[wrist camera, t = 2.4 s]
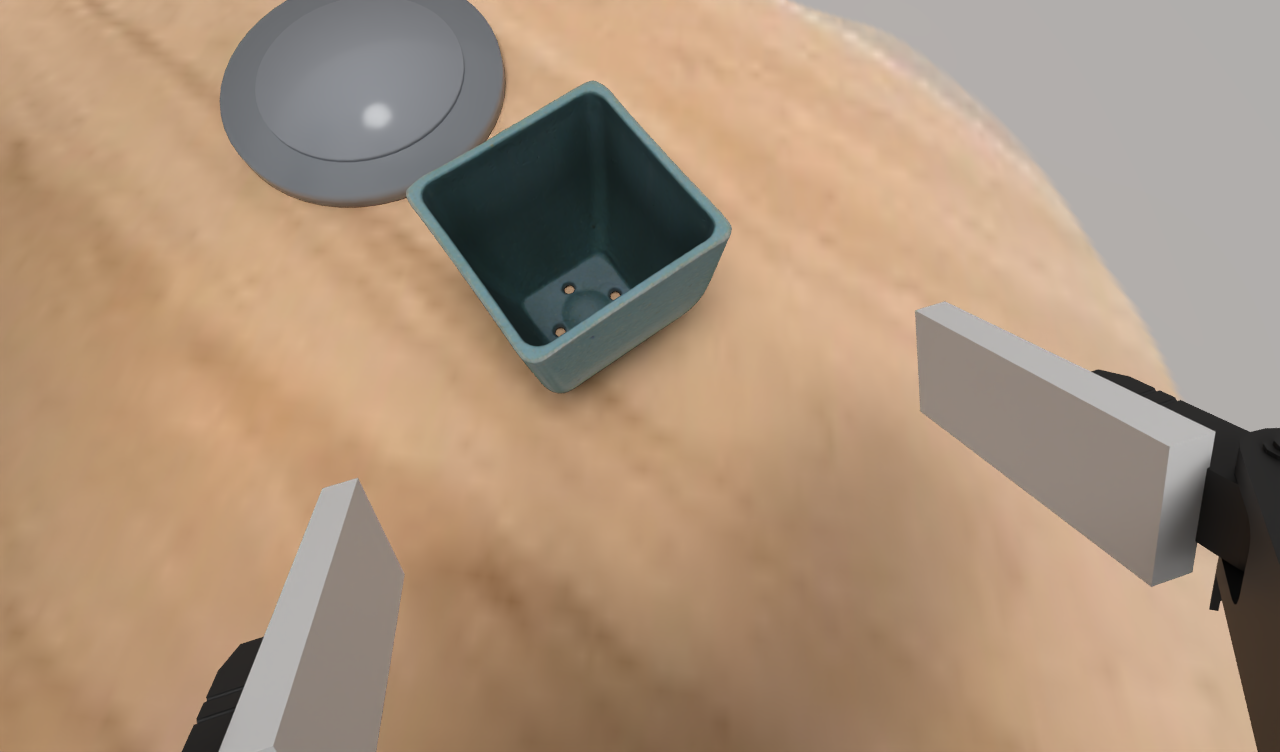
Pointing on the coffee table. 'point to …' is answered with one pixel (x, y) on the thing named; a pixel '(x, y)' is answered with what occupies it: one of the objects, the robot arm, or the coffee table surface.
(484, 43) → the saucer
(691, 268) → the flower pot
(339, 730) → the robot arm
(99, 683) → the coffee table surface
